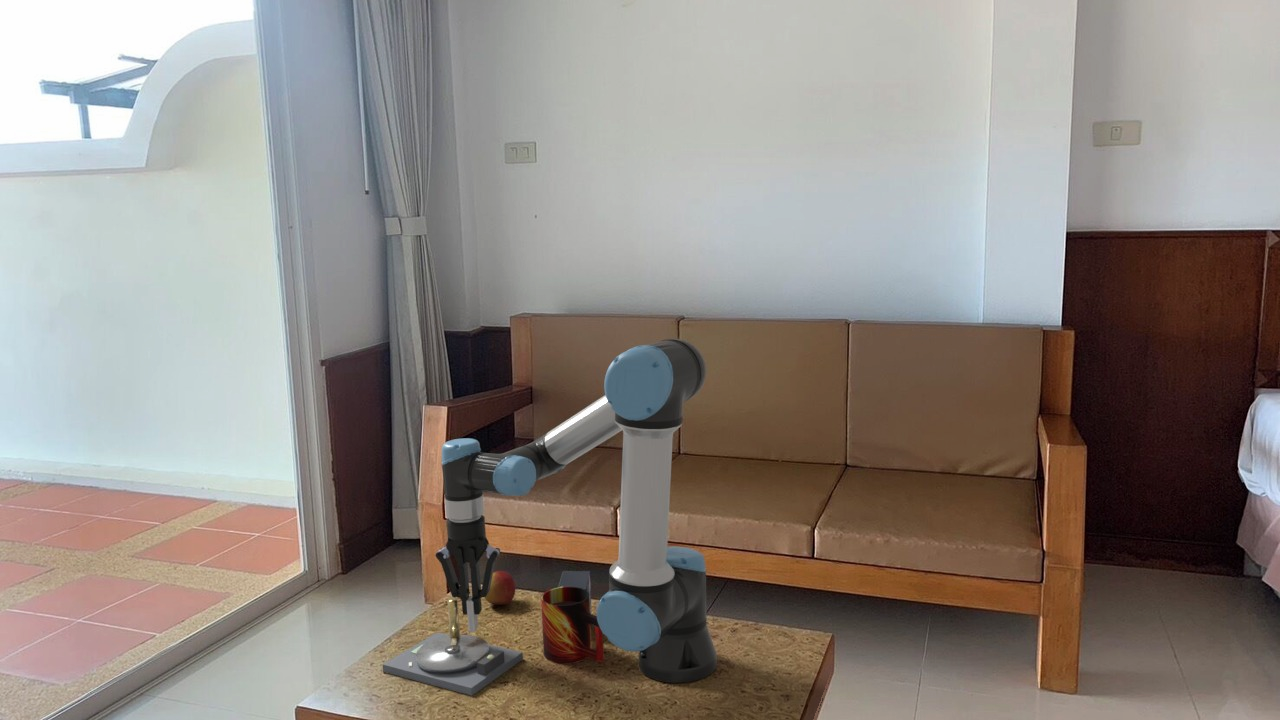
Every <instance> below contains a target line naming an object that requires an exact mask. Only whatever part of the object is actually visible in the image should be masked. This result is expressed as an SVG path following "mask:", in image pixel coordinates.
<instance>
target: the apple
mask: <svg viewBox="0 0 1280 720" xmlns="http://www.w3.org/2000/svg"><path fill="white" fill-rule="evenodd" d="M515 594H516V583H515V580H514V578H513V576H512V575H511V574H510V572H507V571H504V570H497V571H493V576H492V581H491V586H490V591H489V593H488V594H487V596H486V597H484V599H485V601H486V602H487V603H489V604H491V605H495V606H505V605H508V604H510V603H511V602H512V601H513V599H514V597H515Z"/></svg>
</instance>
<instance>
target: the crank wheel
mask: <svg viewBox="0 0 1280 720" xmlns="http://www.w3.org/2000/svg"><path fill="white" fill-rule="evenodd" d="M458 601H459V598H458V597H450V598H448V599H447V610H448V614H447V615H448V627H449V635H450V636H445V637H441V638H437V639H434V640H432V641H429V642H427V643H426V644H424V645H423V646H421V647H420V648H419V649H418V651H417V653H416V660H417V664H418V666H419V667H421V668H422V669H424V670H427V671H430V672H436V673H451V672H458V671H463V670H466V669H469V668H472V667H475V666H477V662H479V661H480V660H482V659H483V658H485V657H486V656H488V655H489V646H488V644H489V643H488V642H487V641H486V640H485V639H483V638H482V637H479V636H476V635H473V634H461V632H460V630H461V629H460V615H459V612H460V611H459V602H458Z"/></svg>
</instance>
